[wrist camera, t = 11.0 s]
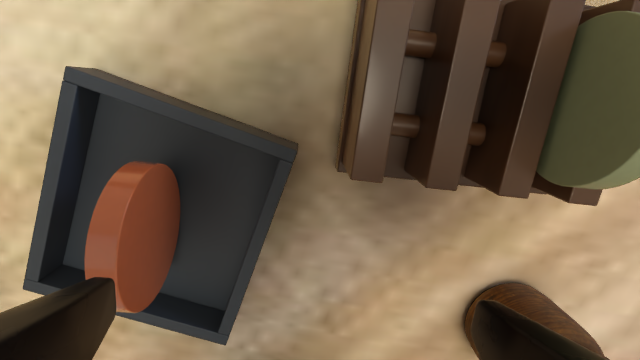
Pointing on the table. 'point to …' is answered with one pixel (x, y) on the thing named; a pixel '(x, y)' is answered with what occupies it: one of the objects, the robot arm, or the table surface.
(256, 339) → the table surface
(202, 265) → the tray
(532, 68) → the rack
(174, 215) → the terracotta disc
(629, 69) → the sage disc
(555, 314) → the utensil holder
